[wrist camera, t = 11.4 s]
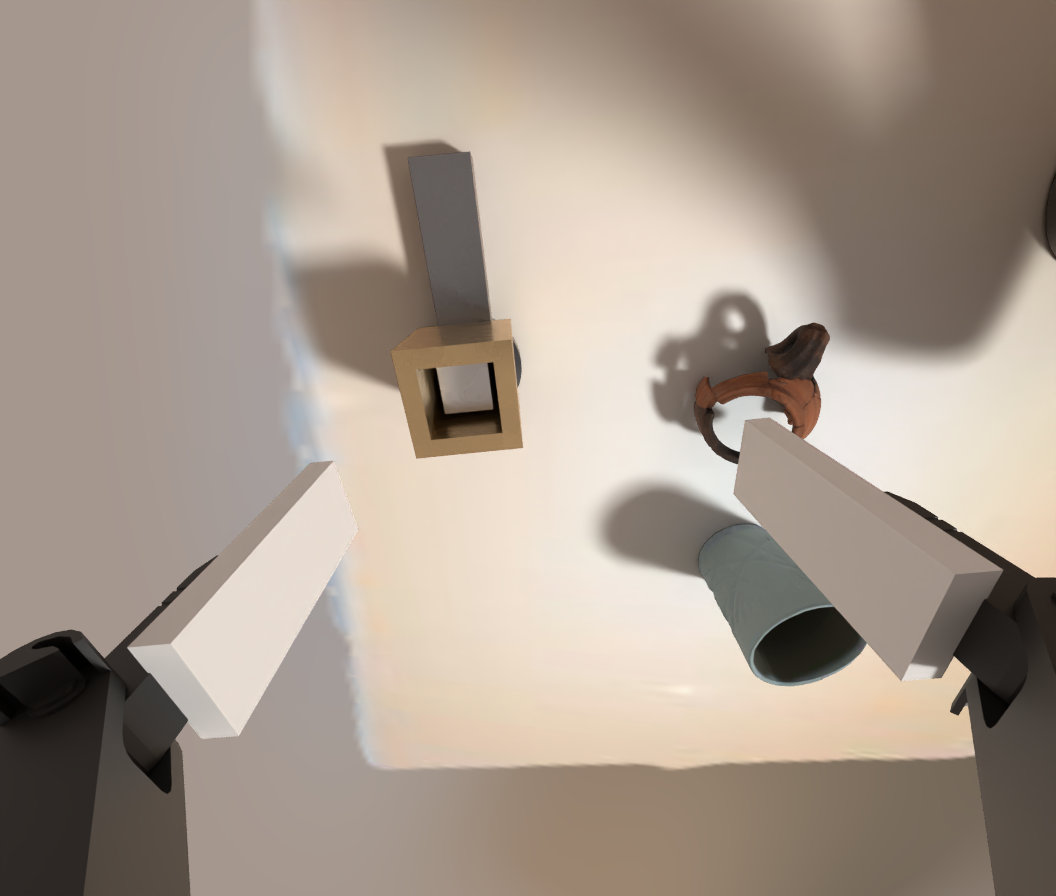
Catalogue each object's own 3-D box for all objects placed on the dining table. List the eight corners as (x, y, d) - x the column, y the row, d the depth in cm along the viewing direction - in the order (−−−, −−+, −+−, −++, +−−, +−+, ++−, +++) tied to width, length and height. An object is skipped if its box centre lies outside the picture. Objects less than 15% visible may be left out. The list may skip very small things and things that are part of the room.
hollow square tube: (510, 318, 30) (511, 339, 23) (519, 405, 33) (522, 447, 26) (418, 328, 30) (390, 351, 23) (436, 414, 33) (416, 458, 26)
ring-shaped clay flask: (781, 439, 39) (783, 491, 33) (685, 405, 41) (671, 449, 35) (864, 321, 31) (887, 362, 25) (739, 288, 33) (733, 319, 27)
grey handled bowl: (501, 155, 27) (499, 126, 21) (524, 403, 35) (528, 435, 29) (385, 166, 27) (348, 140, 21) (434, 411, 35) (419, 446, 29)
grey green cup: (678, 582, 46) (731, 683, 35) (710, 510, 41) (782, 600, 31) (759, 589, 47) (834, 689, 36) (798, 520, 42) (897, 611, 32)
